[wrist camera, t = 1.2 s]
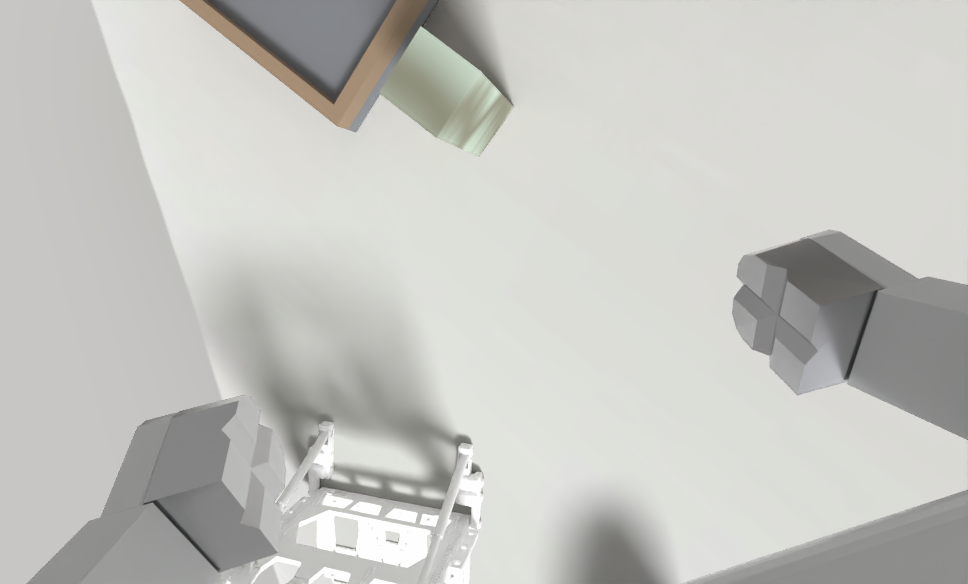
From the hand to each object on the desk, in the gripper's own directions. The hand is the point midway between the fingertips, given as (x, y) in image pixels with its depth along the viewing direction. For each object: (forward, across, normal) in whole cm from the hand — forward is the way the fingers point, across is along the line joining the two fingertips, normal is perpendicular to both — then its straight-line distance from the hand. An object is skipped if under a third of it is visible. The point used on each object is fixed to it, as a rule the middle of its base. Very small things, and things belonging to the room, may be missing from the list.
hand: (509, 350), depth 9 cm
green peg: (+30, -5, +6) cm, 31 cm away
